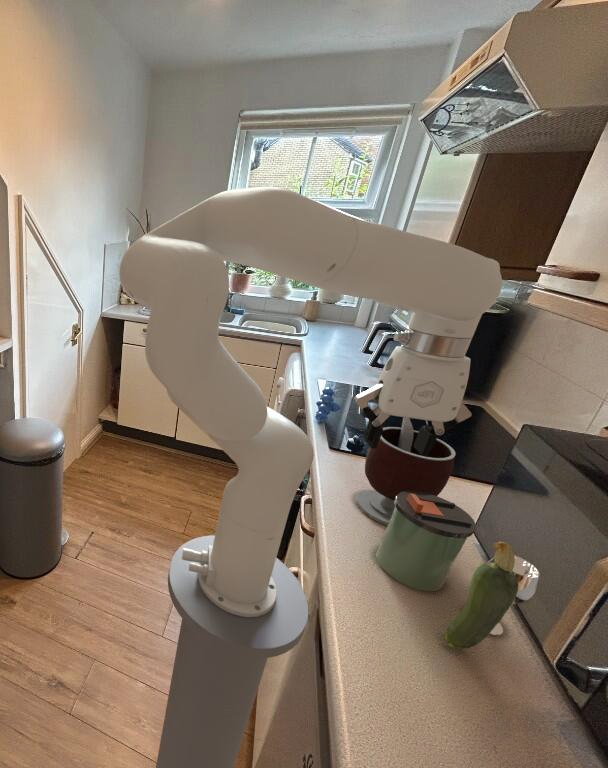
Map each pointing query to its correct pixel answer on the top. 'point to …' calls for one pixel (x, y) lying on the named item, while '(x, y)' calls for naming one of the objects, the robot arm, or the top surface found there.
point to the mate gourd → (402, 470)
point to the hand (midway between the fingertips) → (395, 447)
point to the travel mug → (423, 541)
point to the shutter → (423, 506)
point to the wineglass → (521, 585)
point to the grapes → (326, 405)
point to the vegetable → (485, 600)
